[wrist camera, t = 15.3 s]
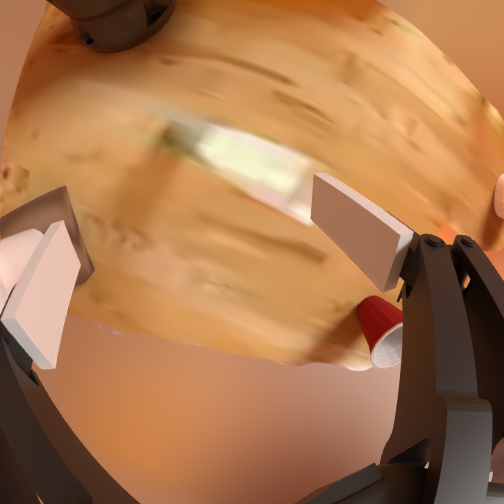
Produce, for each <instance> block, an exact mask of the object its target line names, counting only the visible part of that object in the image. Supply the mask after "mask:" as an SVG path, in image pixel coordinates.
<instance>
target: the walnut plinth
mask: <svg viewBox="0 0 504 504" xmlns="http://www.w3.org/2000/svg"><path fill="white" fill-rule="evenodd" d="M62 220H64V223H65V226H66V229H67V232H68V234H69V237H70V239H71V242H72V245H73V247H74V249H75V252H76V254H77V257H78V259H79V261H80V264H81V266H80V269H79V273H78V276H77V279H76V282H75V285H77V284H81V283H85V282H86V281H87V280H88V279H89V277H90V276H91V275H92V273H93V272H94V271H95V269H94V267H93V265H92V262H91V260H90V257H89V255H88V252H87V249H86V247H85V244H84V241H83V239H82V236H81V233H80V230H79V227H78V224H77V221H76V218H75V215H74V212H73V209H72V206H71V203H70V199H69V196H68V192H67V189H66V186H63V187H60V188H58V189H55V190H52V191H50V192H48V193H46V194H44V195H42V196H40V197H38V198H36V199H34V200H32V201H30V202H28V203H26V204H24V205H23V206H21V207H19V208H17V209H15V210H13V211H12V212H10V213H8V214H6V215H5V216H3V217H1V218H0V232H1V235H2V238H3V239H4V238H7V237H9V236H12V235H14V234H17V233H20V232H23V231H26V230H29V229H36V230H38V231H40V232H41V233H42V234H43V235H44V234H45V233H46V231H47V230H48V228H49V227H50V225H51V224H52V223H55V222H58V221H62Z"/></svg>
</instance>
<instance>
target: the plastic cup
mask: <svg viewBox="0 0 504 504" xmlns="http://www.w3.org/2000/svg"><path fill="white" fill-rule="evenodd" d="M357 317H358V320H359V322H360V325H361V328H362V330H363V333H364V335H365V338H366V340H367V343H368V345H369V349H370V354H371V357H370V362H371V364H372V365H373V366H374V368H378V369H387V368H392V367H394V366H396V365H399V364H401V356H402V329H403V312H402V311H401V310H399V309H398V308H397V307H395V306H394V305H392V304H391V303H389V302H387V301H385V300H384V299H382V298H380V297H378V296H370V297H367V298H366V299H365V300H363V301H362V302H361V304H360V305H359V306H358V309H357Z"/></svg>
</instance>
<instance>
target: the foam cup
mask: <svg viewBox="0 0 504 504" xmlns="http://www.w3.org/2000/svg"><path fill="white" fill-rule="evenodd" d="M43 236H44V235H43V234H42V233H41V232H40V231H38V230H36V229H29V230H26V231H23V232H20V233H17V234H14V235H12V236H9V237H7V238H4V239H1V240H0V314H1V312H2V310H3V307H4V306H5V303H6V301H7V299H8V296H9V294H10V292H11V290H12V288H13V287H14V286H15V284H16V283H17V282H18V280H19V278H20V276H21V274H22V272H23V270H24V268H25V267H26V265H27V263H28V261H29V259H30V258H31V256H32V254H33V252H34V251H35V249H36V247H37V246H38V244H39V242H40V241H41V239H42V238H43Z"/></svg>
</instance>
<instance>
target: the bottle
mask: <svg viewBox="0 0 504 504" xmlns="http://www.w3.org/2000/svg"><path fill="white" fill-rule="evenodd" d="M494 208H495V212H496V214H497V216H499V217H501V218H503V219H504V174H502V175H501V176H500V178H499V179H498V181H497V184H496V188H495V193H494Z"/></svg>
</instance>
